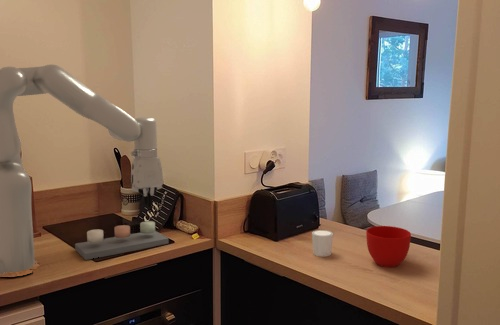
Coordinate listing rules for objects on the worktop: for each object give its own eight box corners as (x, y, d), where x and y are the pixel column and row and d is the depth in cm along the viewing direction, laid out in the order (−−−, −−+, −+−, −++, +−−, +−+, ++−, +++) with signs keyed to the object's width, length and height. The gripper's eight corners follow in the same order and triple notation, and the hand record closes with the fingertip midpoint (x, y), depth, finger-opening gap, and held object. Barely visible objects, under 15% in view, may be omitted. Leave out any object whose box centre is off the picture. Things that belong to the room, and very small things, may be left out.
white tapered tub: (332, 257, 145) (333, 236, 144) (310, 256, 146) (311, 235, 145) (333, 250, 151) (333, 230, 150) (312, 249, 153) (312, 229, 152)
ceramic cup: (416, 256, 146) (417, 226, 144) (404, 274, 131) (405, 241, 130) (375, 249, 152) (376, 220, 151) (360, 266, 138) (360, 234, 136)
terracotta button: (117, 239, 150) (117, 230, 150) (112, 235, 154) (112, 226, 154) (132, 236, 153) (132, 227, 153) (127, 232, 157) (126, 224, 157)
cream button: (89, 243, 145) (89, 234, 145) (85, 239, 149) (85, 230, 149) (105, 241, 148) (105, 232, 148) (100, 237, 152) (100, 228, 152)
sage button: (143, 234, 156) (143, 225, 155) (138, 231, 160) (137, 222, 159) (157, 232, 158) (157, 223, 158) (151, 228, 162) (151, 220, 162)
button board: (85, 260, 142) (85, 253, 141) (75, 249, 151) (74, 243, 151) (168, 244, 158) (168, 238, 157) (154, 235, 167) (154, 230, 167)
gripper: (128, 156, 148) (130, 212, 151) (170, 153, 156) (172, 205, 159) (120, 154, 154) (122, 207, 157) (161, 151, 163) (163, 201, 165)
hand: (147, 206), depth 158 cm, fingers closed
